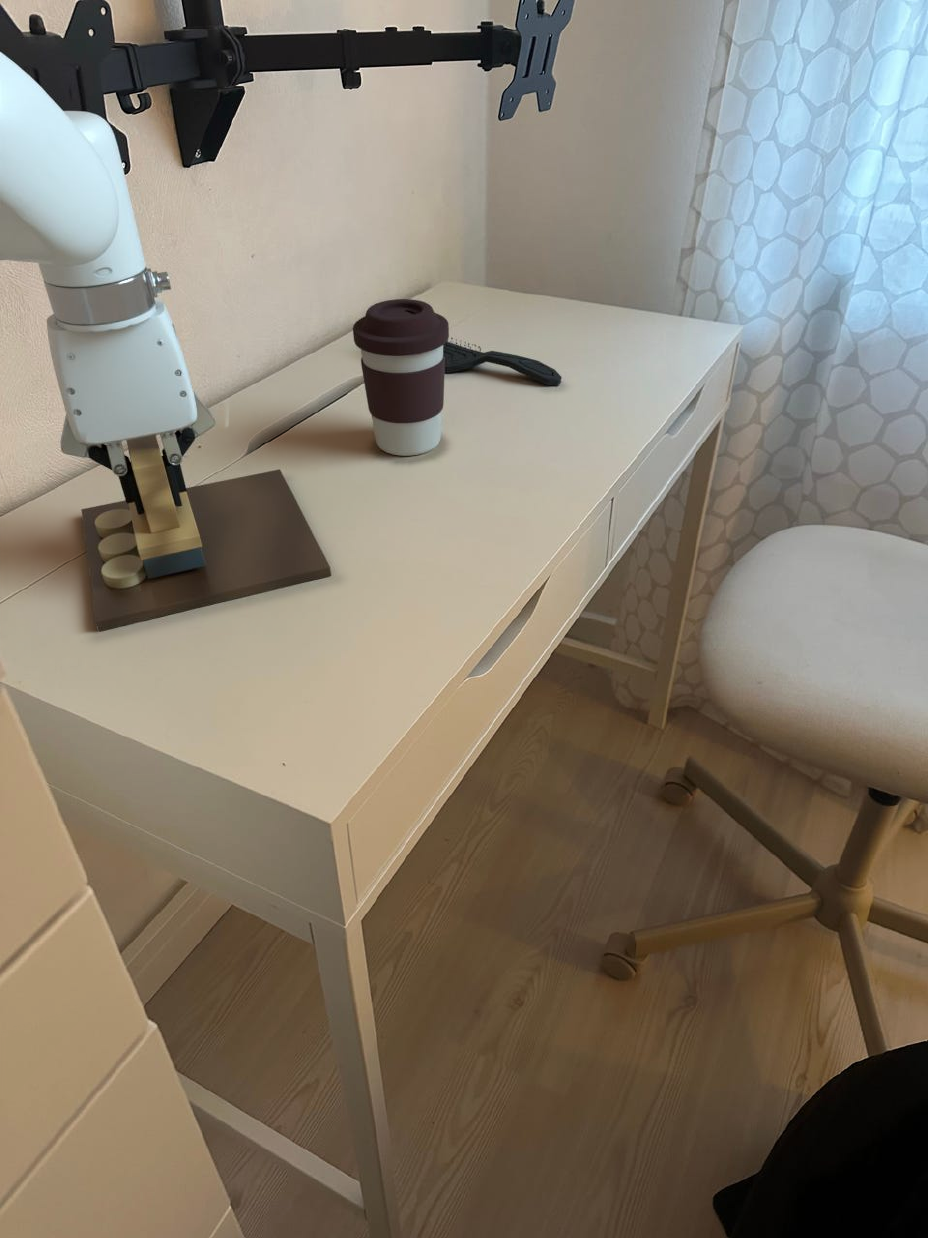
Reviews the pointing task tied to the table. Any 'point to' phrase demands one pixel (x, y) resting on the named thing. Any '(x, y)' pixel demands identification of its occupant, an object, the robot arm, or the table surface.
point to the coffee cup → (403, 373)
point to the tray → (217, 552)
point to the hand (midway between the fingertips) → (158, 501)
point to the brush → (161, 516)
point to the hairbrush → (497, 362)
